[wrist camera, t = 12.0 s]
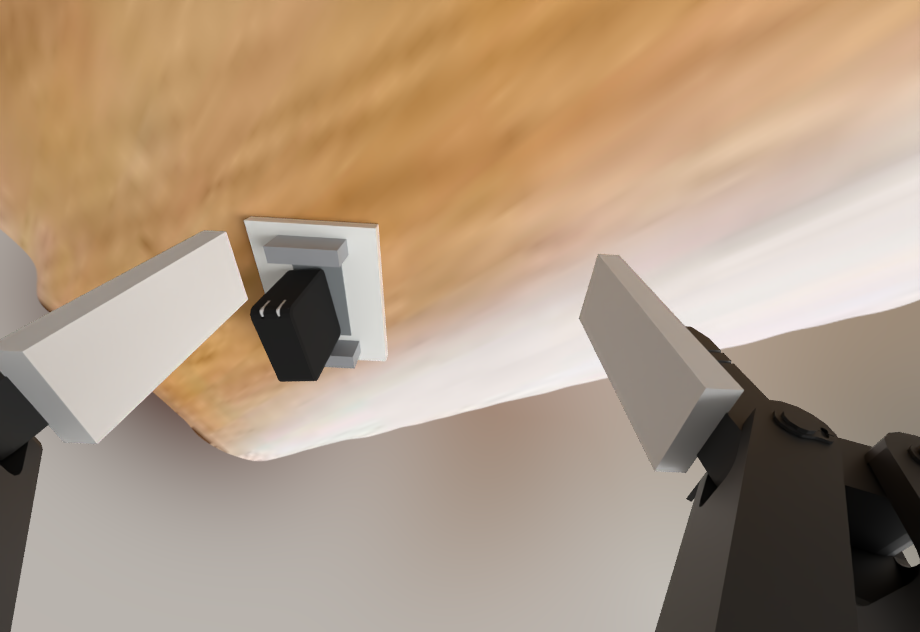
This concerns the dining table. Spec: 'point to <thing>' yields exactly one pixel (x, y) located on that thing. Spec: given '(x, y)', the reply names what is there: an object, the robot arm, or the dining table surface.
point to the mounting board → (330, 275)
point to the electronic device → (297, 324)
